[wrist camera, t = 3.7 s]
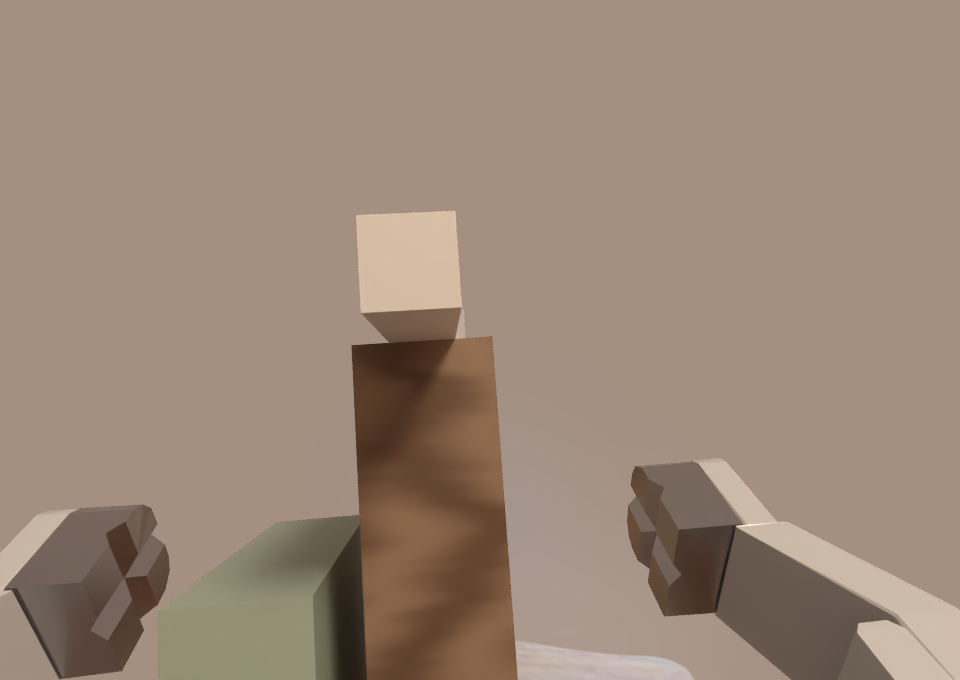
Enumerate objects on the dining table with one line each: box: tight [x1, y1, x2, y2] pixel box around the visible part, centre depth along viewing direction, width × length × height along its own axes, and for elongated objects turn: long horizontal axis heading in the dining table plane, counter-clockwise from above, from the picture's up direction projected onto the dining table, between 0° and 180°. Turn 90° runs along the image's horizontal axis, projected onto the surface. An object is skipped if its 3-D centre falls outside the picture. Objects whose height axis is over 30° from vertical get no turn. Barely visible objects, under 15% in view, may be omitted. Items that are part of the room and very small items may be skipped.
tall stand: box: [352, 336, 518, 680], centre depth 29 cm, size 6×15×26 cm, turn 4°
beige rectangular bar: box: [356, 211, 466, 343], centre depth 25 cm, size 5×20×3 cm, turn 4°
